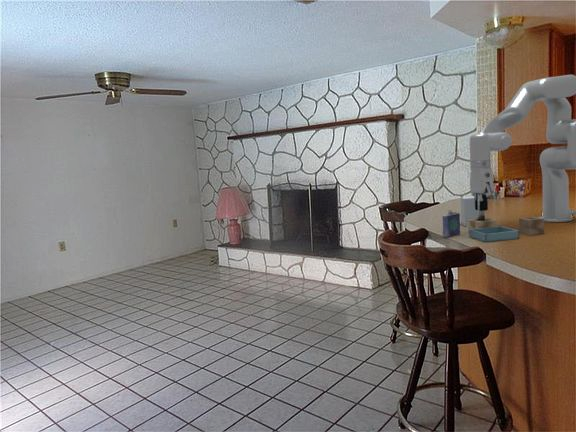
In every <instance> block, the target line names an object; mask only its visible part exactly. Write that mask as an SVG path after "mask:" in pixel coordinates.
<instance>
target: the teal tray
mask: <svg viewBox="0 0 576 432" xmlns="http://www.w3.org/2000/svg"><path fill="white" fill-rule="evenodd" d="M469 238H471V239H473V240H478V241H480V240H481V241H480V242H483V241H484V242H483V243H491V242H492V241H494V242H501V241H500V240H503V241H511V240H519V239H520V233H519V229H513V228H510V227H507V226H502V225H499V226H498V225H497V227H488V228H479V229H470V230H469Z"/></svg>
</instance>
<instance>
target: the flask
mask: <svg viewBox="0 0 576 432" xmlns="http://www.w3.org/2000/svg"><path fill="white" fill-rule="evenodd" d="M447 212H448V214H447V213H446V214H443V215H442V217H441V218H442V237H443V238H450V237H451V238H452V237H455V236H459V235H461V230H460V228H461V223H460V222H461V221H460V220H461V219H460V218H461V217H460V216H461V214H460V213H461V212H457V211H453V210H452V209H448V210H447Z"/></svg>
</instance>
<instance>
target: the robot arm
mask: <svg viewBox="0 0 576 432" xmlns="http://www.w3.org/2000/svg"><path fill="white" fill-rule="evenodd" d="M575 95H576V75H574V74H564V75H557V76H549V77H548V76H547V77H544V78H543V77H542V78H539V79H535V80H530V81H527V82H526V83H525V82H524V83H523V84H522V85H521V86H520V87H519V88H518V90H517V92H516V93H515V95H514V96H513V98H512V99H511V100H510V101H509V103H508V105H507V106H506V108H505V109H503V110H501V112H499V113H498V114H497V115H496V116H495V117H493V118H492V119H491V120H490V121H488V122H487V123H486V124H485V125H484V127H483V128H482V130H481V131H480V132H479V133H478V134H472V135H471V136H470V137H469V159H470V160H469V164H470V166H469V167H470V174H469V175H470V177H469V190H470V192H471V195H472V196H474V200H475V210H478V199H477V193H480V200H481V201H479V206H480V211H485V212H486V211H488V209H489V207H488V206H489V205H488V204H489V202H488V201H489V198H490V197H491V196H492V193H494V191H495V189H494V185H495V184H494V175H493V170H492V165H491V164H492V163H491V161H492V160H491V159H492V158H491V155H492V154H491V152H501V151H505V150H507V149H509V148H510V147H511V145H512V143H513V142H512V141H513V139H512V135H510V134H509V133H508V132H505V130H507V129H509V128H512V127H513V126H516V125H518V124H519V123H522V122H523V121H524V120H526V118H527V116H528V115H529V113H530V112H531V110H532V109H533V108H534V107H535V105H536V103H537V102H542V103H543V104H544V105H545V107H546V110H547V120H546V130H545V138H546V141H547V142H548V143H550V144H554V145H560V144H567V146H552V147H548V148H545V149H543V151H542V152H541V153H540V155H539V164H540V168H541V175H542V215H540V216H538V218H543V219H544V223H545V222H546V223H548V222H549V223H564V222H565V223H566V222H567V223H568V222H571V221H573V220H574V217H573V216H572V215H576V209H572V208H570V207H569V203H570V202H569V201H570V199H569V197H570V196H569V193H570V192H569V191H570V189H569V187H570V186H569V184H570V182H569V181H570V180H569V175H568V173H567V171H566V170H576V118H573V119H572V105H571V103H570V102H569V100H568V99H567V98H569V97H572V96H573V97H574V96H575ZM483 195H484V196H483Z"/></svg>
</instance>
